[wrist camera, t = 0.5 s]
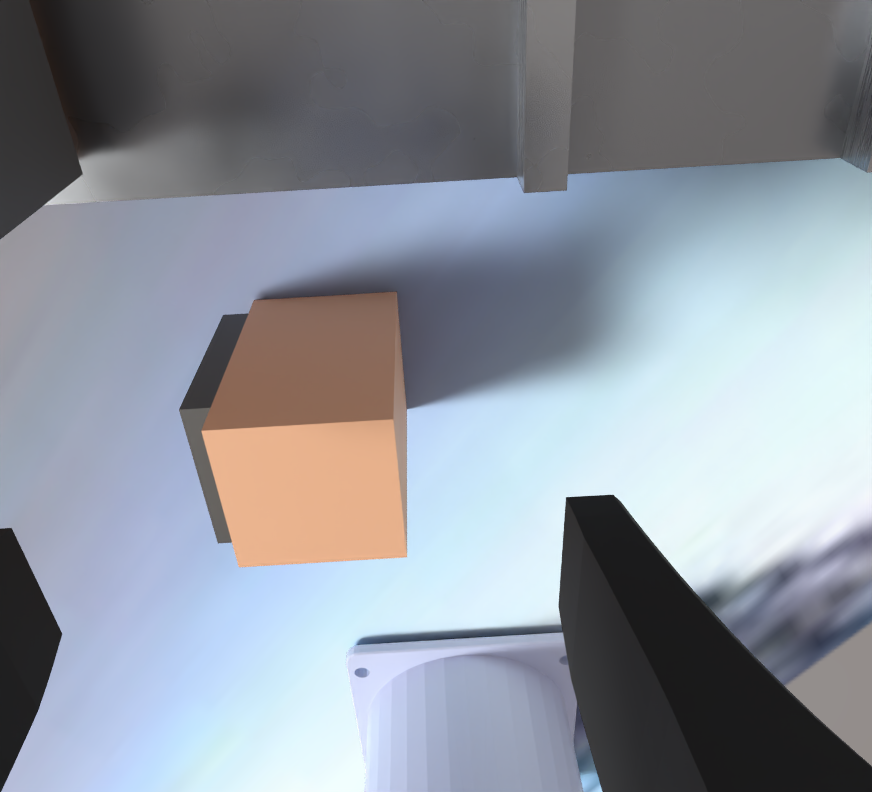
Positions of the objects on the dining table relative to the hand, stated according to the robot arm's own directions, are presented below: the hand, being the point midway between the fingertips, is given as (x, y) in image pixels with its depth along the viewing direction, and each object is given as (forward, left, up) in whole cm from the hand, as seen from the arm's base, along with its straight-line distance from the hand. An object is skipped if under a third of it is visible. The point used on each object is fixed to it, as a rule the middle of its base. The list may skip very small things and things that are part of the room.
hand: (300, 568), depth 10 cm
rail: (+5, 0, -9) cm, 11 cm away
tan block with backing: (-2, +1, -9) cm, 10 cm away
